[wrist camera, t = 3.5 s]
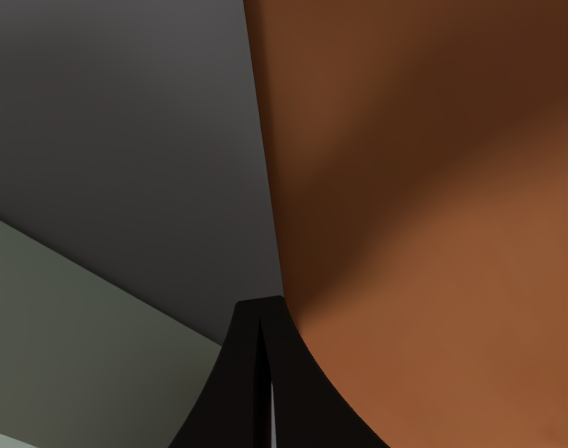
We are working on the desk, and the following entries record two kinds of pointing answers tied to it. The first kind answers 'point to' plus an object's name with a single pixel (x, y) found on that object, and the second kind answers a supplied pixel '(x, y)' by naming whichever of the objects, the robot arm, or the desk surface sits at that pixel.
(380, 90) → the desk surface
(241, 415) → the robot arm
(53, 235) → the mat
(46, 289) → the cabinet door
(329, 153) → the desk surface
